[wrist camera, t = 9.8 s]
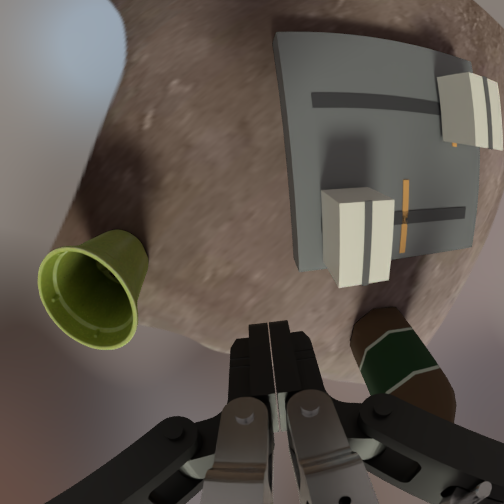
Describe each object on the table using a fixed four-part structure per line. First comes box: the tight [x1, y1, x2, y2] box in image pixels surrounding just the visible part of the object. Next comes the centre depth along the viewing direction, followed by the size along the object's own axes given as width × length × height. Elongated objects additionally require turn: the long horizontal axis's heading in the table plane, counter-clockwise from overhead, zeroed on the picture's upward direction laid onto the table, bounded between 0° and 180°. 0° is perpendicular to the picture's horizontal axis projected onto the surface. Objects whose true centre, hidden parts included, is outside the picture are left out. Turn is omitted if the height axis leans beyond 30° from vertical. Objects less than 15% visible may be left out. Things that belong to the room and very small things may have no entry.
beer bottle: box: [350, 307, 456, 423], centre depth 20 cm, size 8×8×24 cm
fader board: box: [272, 32, 480, 272], centre depth 21 cm, size 20×20×3 cm
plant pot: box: [38, 230, 148, 350], centre depth 23 cm, size 9×9×9 cm
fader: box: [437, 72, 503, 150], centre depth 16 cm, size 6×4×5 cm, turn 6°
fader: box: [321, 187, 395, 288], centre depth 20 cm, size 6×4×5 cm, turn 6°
